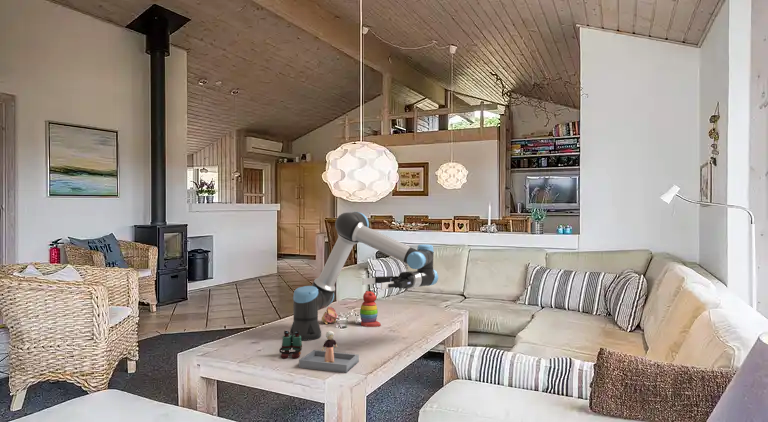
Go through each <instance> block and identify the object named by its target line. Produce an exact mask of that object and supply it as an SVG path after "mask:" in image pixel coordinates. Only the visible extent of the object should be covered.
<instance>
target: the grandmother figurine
mask: <svg viewBox="0 0 768 422" xmlns="http://www.w3.org/2000/svg"><path fill="white" fill-rule="evenodd" d="M334 336H335V332H333V331H332V330H328V331H326V333H325V337H326V338H327V339H326V340H325V342H324V343H323V345H322V348H321V350H320V351H326V352H325V362H331V363H333V362H334V352H335V351H334V348H337V347H338V345H337V344H338V343H337V341H336V340H335V339H334Z"/></svg>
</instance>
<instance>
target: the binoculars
mask: <svg viewBox="0 0 768 422" xmlns="http://www.w3.org/2000/svg"><path fill="white" fill-rule="evenodd" d="M299 333H300V331H296V332H295V335H293V339H292V335H290V331H288V330H284V331H283V334H284V335H283V336H282V339H281V340H282V341H281V342H282V343H281V347H280V348H279V353H280V358H281V359H283V360H287V359H289V357H290V355H291V358H292V360H293V359H294V360H297V359H299V358H300V357H301V354H302V352H301V351H302V349H303V344H302V343H303V342H302V340H301V336H300V335H299ZM291 350H292V351H291Z"/></svg>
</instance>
